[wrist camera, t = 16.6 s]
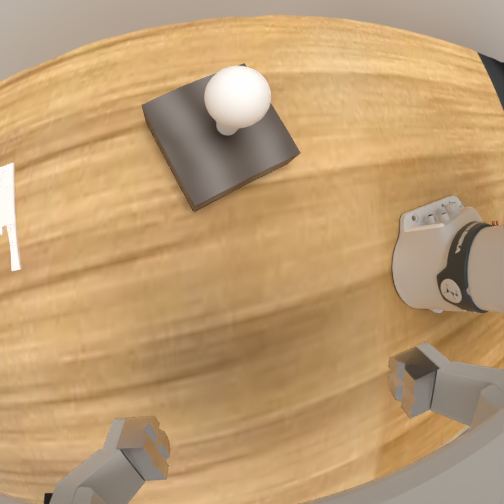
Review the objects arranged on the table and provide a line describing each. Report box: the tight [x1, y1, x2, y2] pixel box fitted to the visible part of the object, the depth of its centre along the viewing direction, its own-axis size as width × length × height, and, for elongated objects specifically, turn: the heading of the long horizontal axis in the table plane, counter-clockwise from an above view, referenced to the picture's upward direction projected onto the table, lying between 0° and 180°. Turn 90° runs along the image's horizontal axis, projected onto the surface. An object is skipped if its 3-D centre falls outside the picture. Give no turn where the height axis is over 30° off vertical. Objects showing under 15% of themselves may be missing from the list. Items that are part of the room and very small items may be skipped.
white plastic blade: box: [0, 163, 22, 271], centre depth 32 cm, size 5×15×1 cm, turn 9°
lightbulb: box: [204, 66, 271, 135], centre depth 28 cm, size 6×6×11 cm
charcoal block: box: [142, 63, 300, 212], centre depth 36 cm, size 14×14×5 cm
